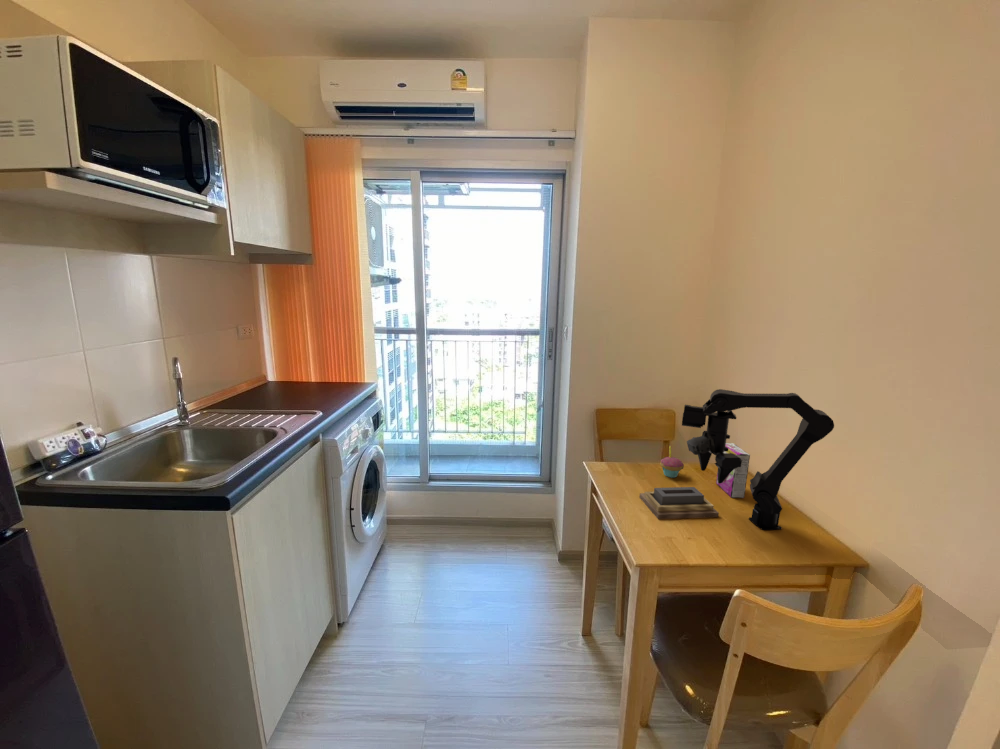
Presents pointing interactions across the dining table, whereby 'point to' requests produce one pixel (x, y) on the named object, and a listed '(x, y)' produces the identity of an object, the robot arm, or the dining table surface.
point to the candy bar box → (736, 474)
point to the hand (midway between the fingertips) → (711, 476)
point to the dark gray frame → (678, 496)
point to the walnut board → (678, 508)
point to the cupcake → (671, 465)
